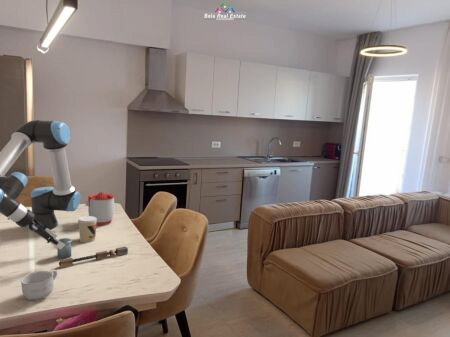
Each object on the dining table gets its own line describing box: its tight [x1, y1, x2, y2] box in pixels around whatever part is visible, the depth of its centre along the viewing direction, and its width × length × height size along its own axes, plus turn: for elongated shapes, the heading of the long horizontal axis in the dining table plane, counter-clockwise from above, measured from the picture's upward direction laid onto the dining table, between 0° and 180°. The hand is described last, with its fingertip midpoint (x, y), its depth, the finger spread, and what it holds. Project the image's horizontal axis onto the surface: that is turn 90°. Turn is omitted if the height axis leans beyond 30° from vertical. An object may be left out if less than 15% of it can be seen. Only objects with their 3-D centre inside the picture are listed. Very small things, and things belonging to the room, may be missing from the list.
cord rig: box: [58, 245, 129, 269], centre depth 165 cm, size 3×32×3 cm, turn 129°
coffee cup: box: [77, 215, 97, 243], centre depth 188 cm, size 9×9×12 cm
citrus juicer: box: [84, 191, 115, 226], centre depth 215 cm, size 16×17×20 cm
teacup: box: [20, 269, 58, 301], centre depth 132 cm, size 14×11×8 cm
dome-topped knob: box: [56, 237, 72, 260], centre depth 166 cm, size 6×6×8 cm
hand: (58, 242), depth 163 cm, fingers open, 13 cm apart
